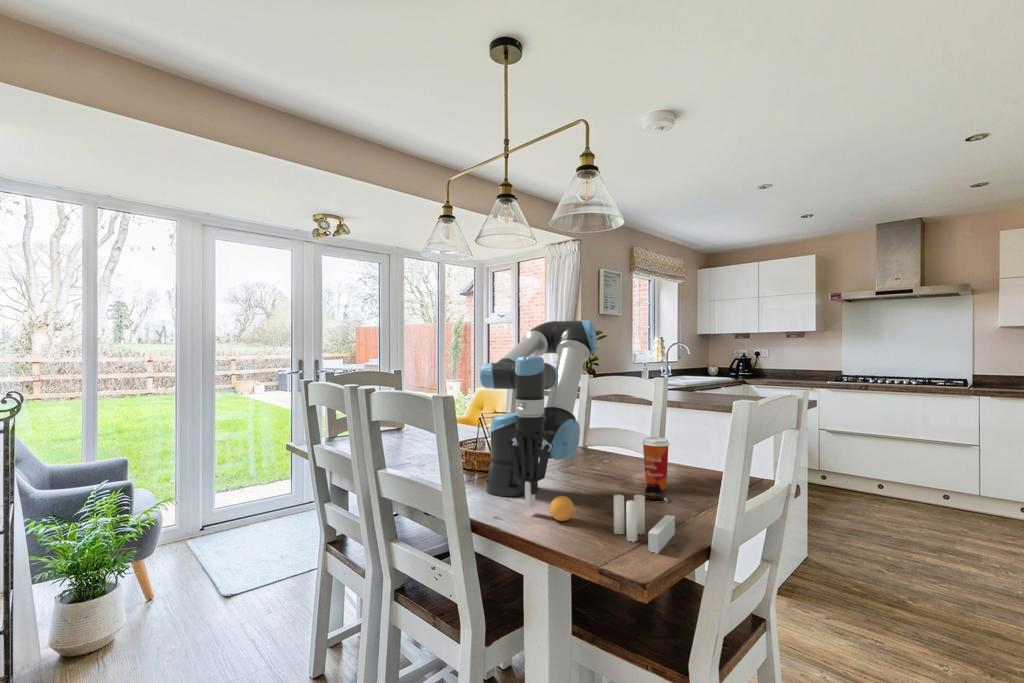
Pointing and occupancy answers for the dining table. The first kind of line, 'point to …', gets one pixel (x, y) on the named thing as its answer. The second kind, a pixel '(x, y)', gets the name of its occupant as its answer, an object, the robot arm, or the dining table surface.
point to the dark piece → (653, 489)
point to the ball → (562, 508)
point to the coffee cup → (656, 460)
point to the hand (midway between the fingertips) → (530, 505)
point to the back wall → (661, 533)
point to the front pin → (619, 514)
